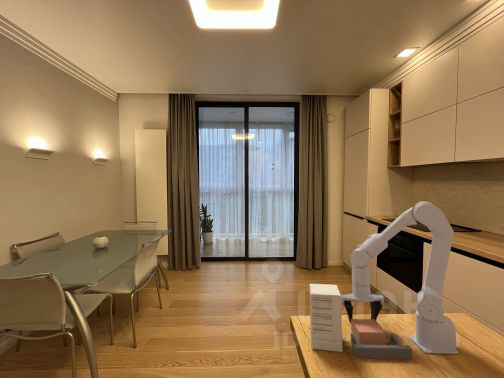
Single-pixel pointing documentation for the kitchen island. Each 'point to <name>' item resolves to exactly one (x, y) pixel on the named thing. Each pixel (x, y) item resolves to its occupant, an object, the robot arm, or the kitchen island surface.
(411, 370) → the kitchen island surface
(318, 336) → the supplement box
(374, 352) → the grey tray
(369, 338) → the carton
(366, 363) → the kitchen island surface
